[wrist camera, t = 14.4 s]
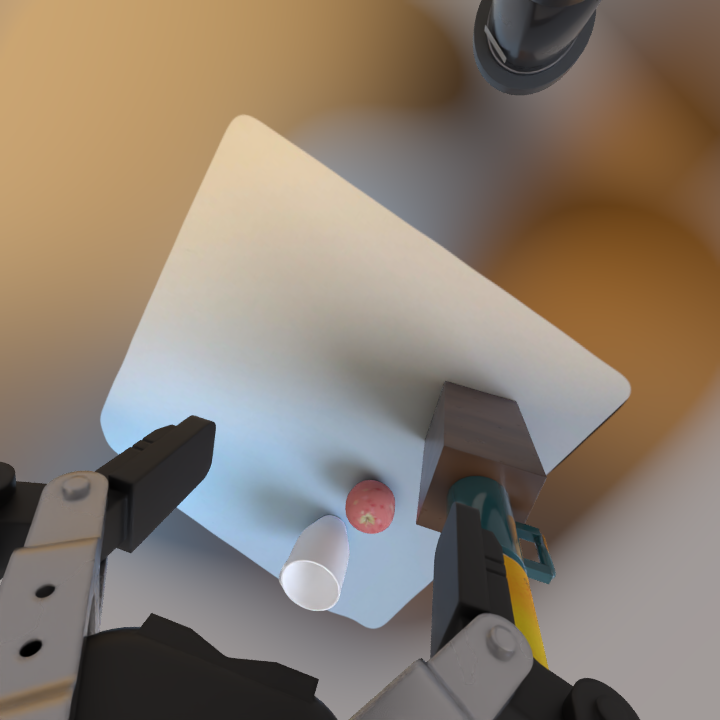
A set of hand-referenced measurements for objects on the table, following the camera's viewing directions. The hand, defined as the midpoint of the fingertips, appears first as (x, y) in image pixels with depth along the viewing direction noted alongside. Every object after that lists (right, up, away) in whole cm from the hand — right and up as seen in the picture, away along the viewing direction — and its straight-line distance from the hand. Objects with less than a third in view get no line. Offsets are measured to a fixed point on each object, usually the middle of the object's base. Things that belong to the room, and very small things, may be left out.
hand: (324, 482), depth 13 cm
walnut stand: (+17, -5, +44) cm, 48 cm away
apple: (+4, -17, +51) cm, 54 cm away
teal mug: (+14, -11, +27) cm, 33 cm away
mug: (-5, -25, +56) cm, 61 cm away
